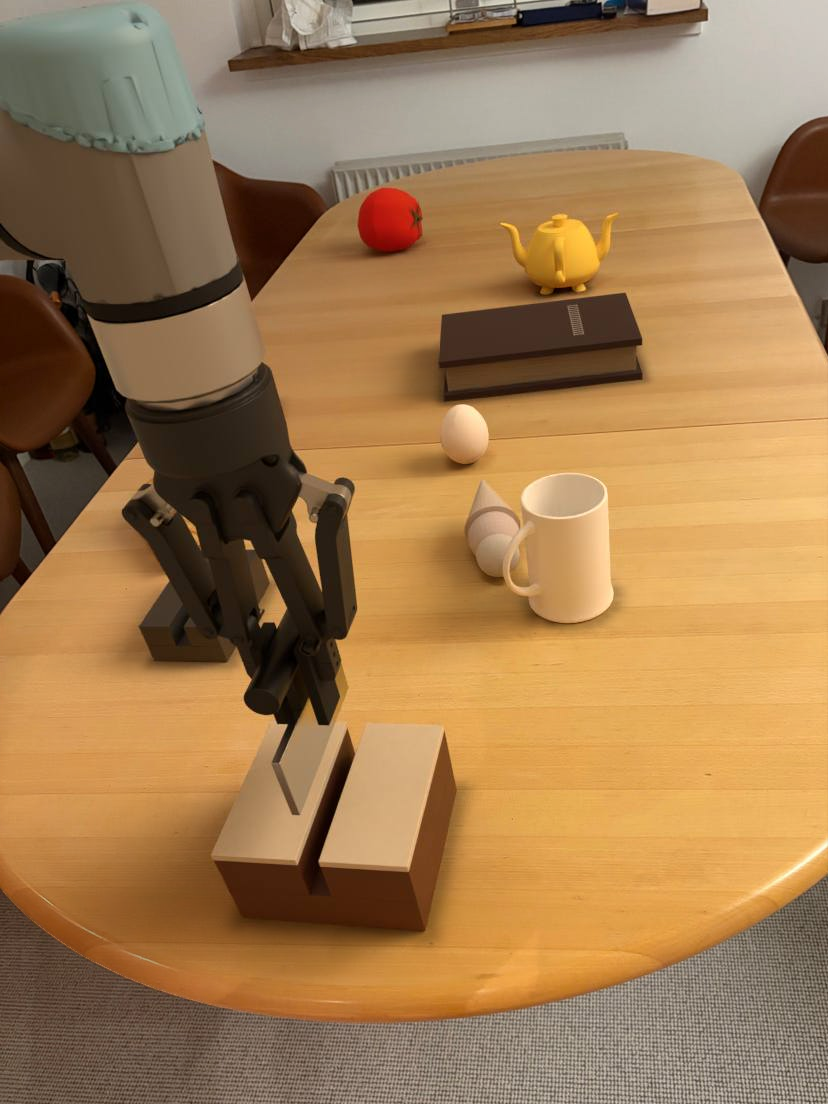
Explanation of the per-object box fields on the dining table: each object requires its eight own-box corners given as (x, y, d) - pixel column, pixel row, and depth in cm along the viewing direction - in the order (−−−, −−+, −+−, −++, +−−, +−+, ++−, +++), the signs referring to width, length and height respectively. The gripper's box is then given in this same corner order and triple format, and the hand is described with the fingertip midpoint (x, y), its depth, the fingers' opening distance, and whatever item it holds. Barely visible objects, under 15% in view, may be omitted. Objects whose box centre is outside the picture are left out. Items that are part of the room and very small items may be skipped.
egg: (501, 456, 115) (495, 401, 111) (469, 478, 112) (461, 421, 107) (466, 445, 119) (459, 390, 114) (434, 465, 116) (425, 410, 111)
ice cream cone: (489, 506, 106) (508, 598, 97) (444, 487, 103) (460, 580, 94) (519, 469, 103) (542, 560, 93) (474, 448, 100) (493, 540, 90)
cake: (241, 917, 67) (210, 855, 62) (295, 782, 77) (271, 719, 72) (425, 931, 65) (407, 867, 60) (457, 789, 74) (443, 724, 69)
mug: (530, 649, 86) (519, 544, 79) (485, 605, 92) (470, 504, 85) (631, 601, 90) (629, 496, 82) (581, 561, 96) (575, 461, 88)
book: (624, 326, 142) (624, 288, 139) (642, 379, 127) (642, 338, 124) (447, 347, 144) (442, 310, 141) (444, 401, 130) (438, 362, 126)
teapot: (502, 307, 155) (495, 237, 147) (509, 276, 166) (503, 209, 159) (621, 297, 152) (620, 225, 144) (620, 267, 163) (619, 198, 155)
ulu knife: (280, 814, 59) (232, 700, 52) (331, 687, 68) (295, 576, 61) (312, 816, 58) (268, 701, 52) (359, 687, 67) (326, 575, 61)
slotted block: (154, 660, 92) (138, 626, 89) (202, 583, 102) (189, 549, 99) (227, 662, 90) (213, 627, 88) (270, 582, 100) (258, 549, 97)
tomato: (364, 267, 190) (423, 268, 186) (340, 225, 178) (402, 224, 174) (378, 216, 193) (436, 216, 189) (355, 170, 181) (417, 169, 177)
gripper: (359, 339, 47) (430, 673, 62) (94, 355, 50) (223, 670, 65) (317, 405, 42) (407, 755, 57) (22, 419, 45) (182, 748, 60)
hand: (308, 709), depth 61 cm, fingers closed on ulu knife, 2 cm apart
